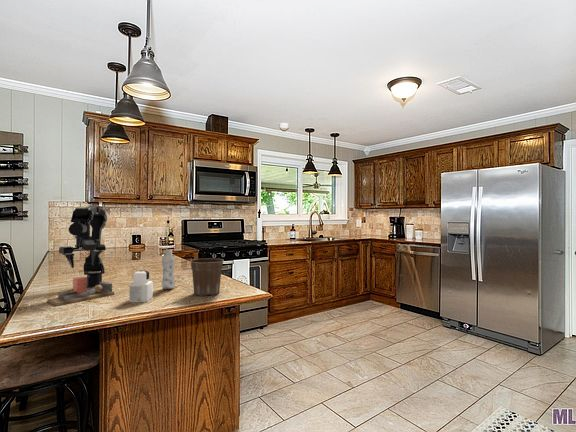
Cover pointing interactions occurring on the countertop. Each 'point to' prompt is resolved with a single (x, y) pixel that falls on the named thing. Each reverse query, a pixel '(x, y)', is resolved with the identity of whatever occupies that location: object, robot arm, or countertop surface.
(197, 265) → the plant pot
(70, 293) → the nutcracker base
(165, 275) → the plastic bottle
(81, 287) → the block
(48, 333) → the countertop surface
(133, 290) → the container
